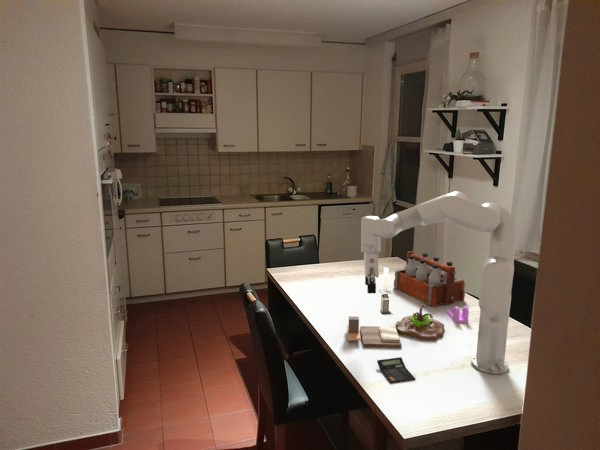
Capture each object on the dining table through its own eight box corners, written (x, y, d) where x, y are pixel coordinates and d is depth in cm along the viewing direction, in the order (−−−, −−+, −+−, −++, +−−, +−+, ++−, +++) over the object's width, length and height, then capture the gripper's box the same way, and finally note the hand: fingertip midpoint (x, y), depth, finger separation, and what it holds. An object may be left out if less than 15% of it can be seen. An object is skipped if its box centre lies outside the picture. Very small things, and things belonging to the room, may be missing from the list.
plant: (450, 327, 200) (451, 303, 198) (436, 345, 184) (437, 319, 182) (406, 317, 211) (407, 294, 209) (389, 332, 195) (390, 308, 193)
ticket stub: (360, 340, 184) (361, 324, 182) (348, 340, 184) (348, 324, 182) (358, 327, 195) (358, 312, 194) (346, 327, 196) (347, 312, 194)
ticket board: (401, 347, 181) (401, 341, 180) (363, 346, 182) (363, 340, 181) (395, 330, 197) (395, 324, 196) (360, 329, 198) (360, 323, 197)
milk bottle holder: (420, 281, 259) (422, 248, 255) (468, 302, 228) (471, 264, 224) (390, 287, 250) (391, 252, 246) (435, 309, 219) (438, 271, 215)
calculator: (390, 384, 156) (390, 376, 156) (376, 367, 167) (377, 359, 167) (415, 380, 158) (415, 372, 158) (400, 364, 170) (400, 356, 169)
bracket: (467, 323, 204) (469, 308, 203) (455, 323, 204) (456, 308, 202) (457, 311, 217) (458, 297, 215) (445, 311, 217) (446, 297, 215)
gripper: (383, 253, 171) (382, 296, 175) (377, 242, 188) (377, 281, 192) (362, 253, 172) (362, 296, 175) (359, 242, 189) (359, 282, 192)
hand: (370, 288), depth 183 cm, fingers open, 9 cm apart
